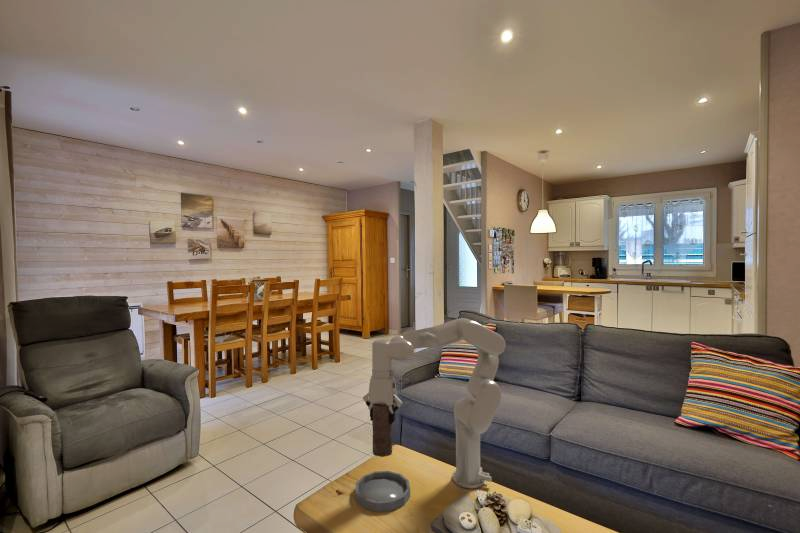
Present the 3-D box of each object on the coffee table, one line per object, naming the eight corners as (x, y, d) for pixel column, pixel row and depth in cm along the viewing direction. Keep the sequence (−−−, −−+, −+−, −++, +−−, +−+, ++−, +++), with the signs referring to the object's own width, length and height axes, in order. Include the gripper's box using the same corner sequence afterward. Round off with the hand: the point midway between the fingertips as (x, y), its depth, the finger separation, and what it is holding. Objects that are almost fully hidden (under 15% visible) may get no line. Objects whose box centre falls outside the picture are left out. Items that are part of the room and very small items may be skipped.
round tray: (417, 485, 140) (417, 477, 140) (395, 517, 122) (395, 508, 122) (372, 474, 148) (372, 466, 148) (345, 502, 130) (345, 494, 130)
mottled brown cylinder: (389, 461, 131) (389, 405, 131) (370, 459, 132) (369, 404, 133) (394, 450, 138) (393, 398, 139) (375, 449, 140) (375, 397, 140)
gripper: (407, 373, 136) (407, 421, 135) (366, 368, 143) (367, 413, 142) (399, 378, 129) (399, 429, 128) (357, 373, 136) (357, 421, 136)
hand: (382, 420), depth 135 cm, fingers closed on mottled brown cylinder, 7 cm apart
